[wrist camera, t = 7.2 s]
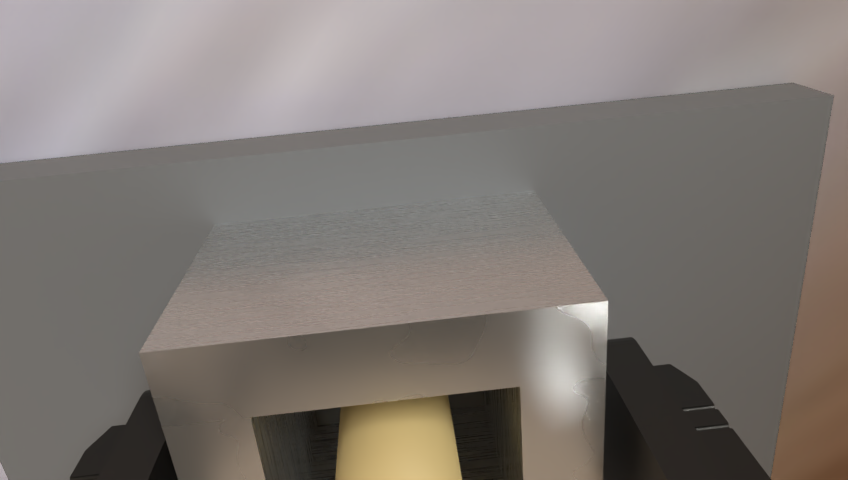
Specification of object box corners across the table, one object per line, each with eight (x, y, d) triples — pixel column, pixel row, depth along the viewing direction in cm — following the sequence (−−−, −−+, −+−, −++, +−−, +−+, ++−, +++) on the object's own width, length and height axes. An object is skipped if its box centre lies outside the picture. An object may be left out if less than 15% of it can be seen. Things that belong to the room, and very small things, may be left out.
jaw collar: (534, 190, 12) (608, 300, 8) (539, 441, 14) (598, 617, 10) (214, 224, 11) (138, 353, 8) (272, 473, 14) (235, 663, 10)
